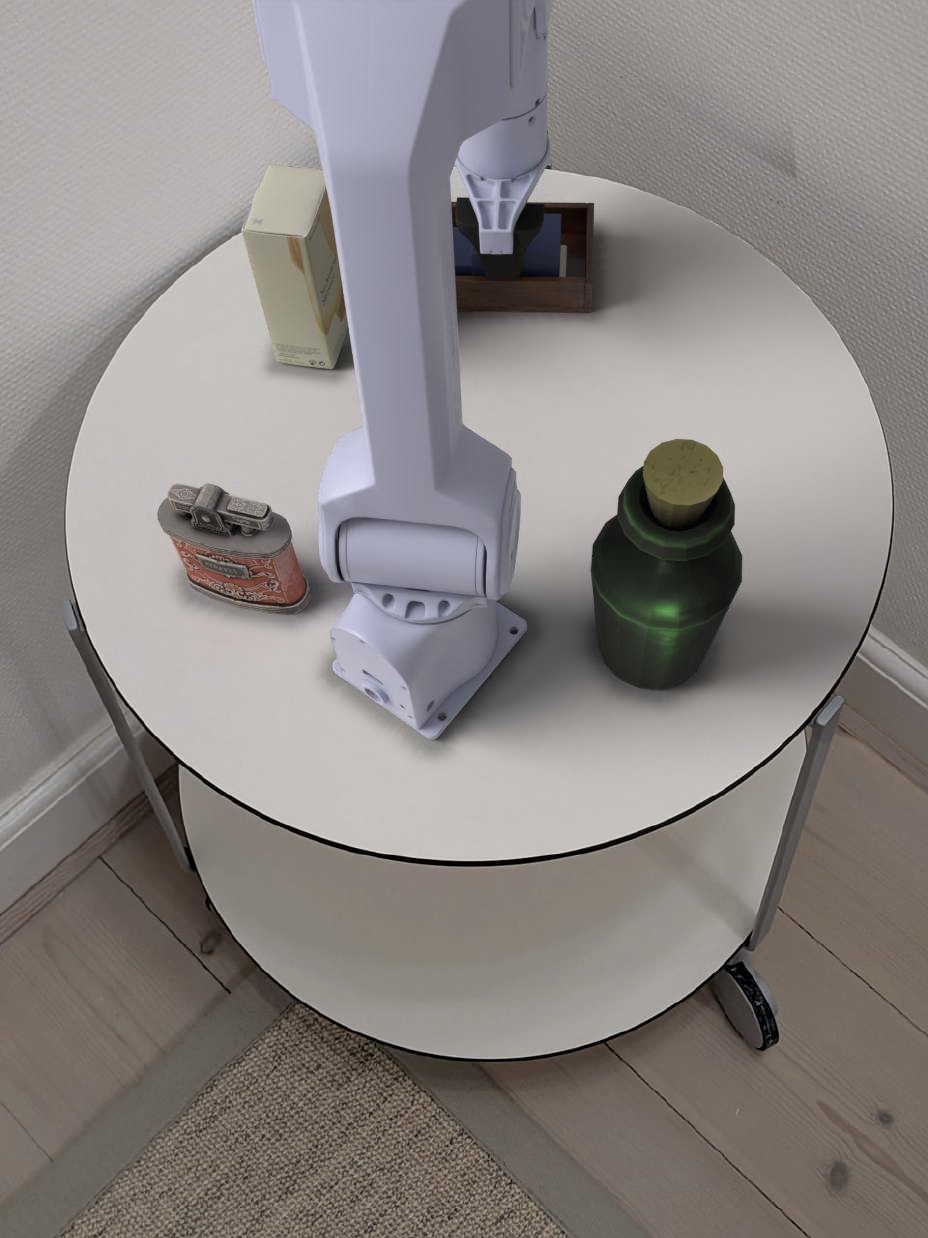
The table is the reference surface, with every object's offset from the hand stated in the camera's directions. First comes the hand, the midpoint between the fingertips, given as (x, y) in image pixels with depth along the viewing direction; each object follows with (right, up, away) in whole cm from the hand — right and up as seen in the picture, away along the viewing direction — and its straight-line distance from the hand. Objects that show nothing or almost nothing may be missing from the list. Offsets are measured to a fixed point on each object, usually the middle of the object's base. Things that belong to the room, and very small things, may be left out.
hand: (504, 250), depth 86 cm
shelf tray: (0, -1, +3) cm, 3 cm away
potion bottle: (+9, -27, -11) cm, 31 cm away
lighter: (-16, -24, -8) cm, 30 cm away
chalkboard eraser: (0, -1, +2) cm, 2 cm away
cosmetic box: (-13, -5, +1) cm, 14 cm away
